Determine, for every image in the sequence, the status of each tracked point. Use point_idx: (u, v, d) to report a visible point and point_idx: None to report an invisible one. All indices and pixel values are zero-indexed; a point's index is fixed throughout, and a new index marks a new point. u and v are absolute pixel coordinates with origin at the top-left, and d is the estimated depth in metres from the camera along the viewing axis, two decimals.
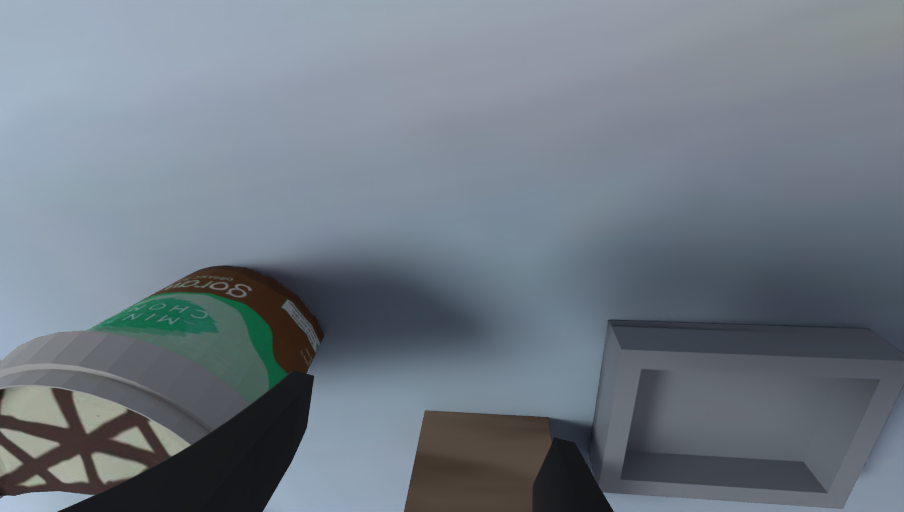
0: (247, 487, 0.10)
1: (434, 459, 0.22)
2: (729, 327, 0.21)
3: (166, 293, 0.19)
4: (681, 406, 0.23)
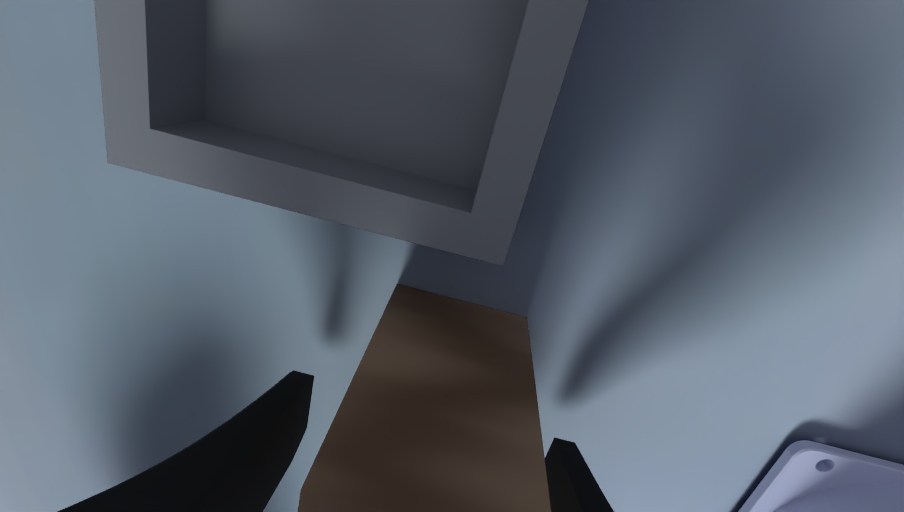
0: (247, 487, 0.10)
1: None
2: None
3: None
4: (366, 20, 0.10)
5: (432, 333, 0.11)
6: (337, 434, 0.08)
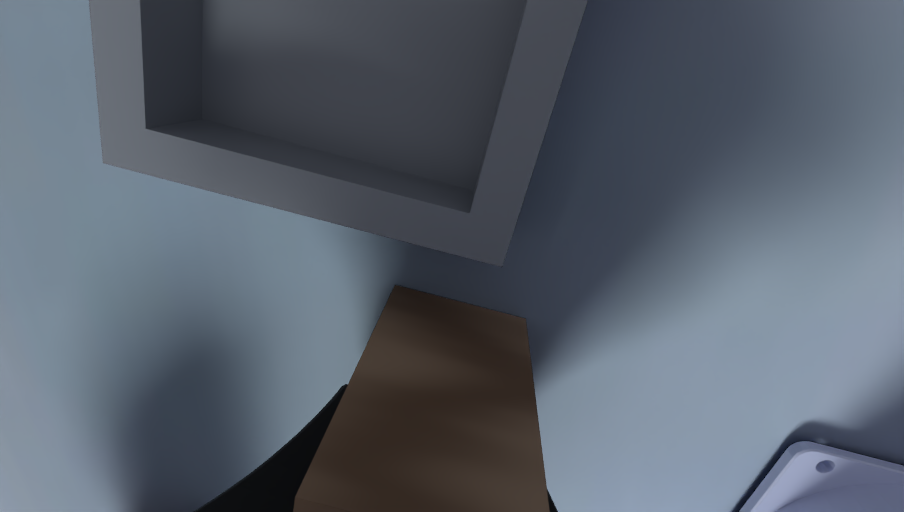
0: None
1: None
2: None
3: None
4: (364, 19, 0.10)
5: (430, 335, 0.11)
6: (332, 439, 0.07)
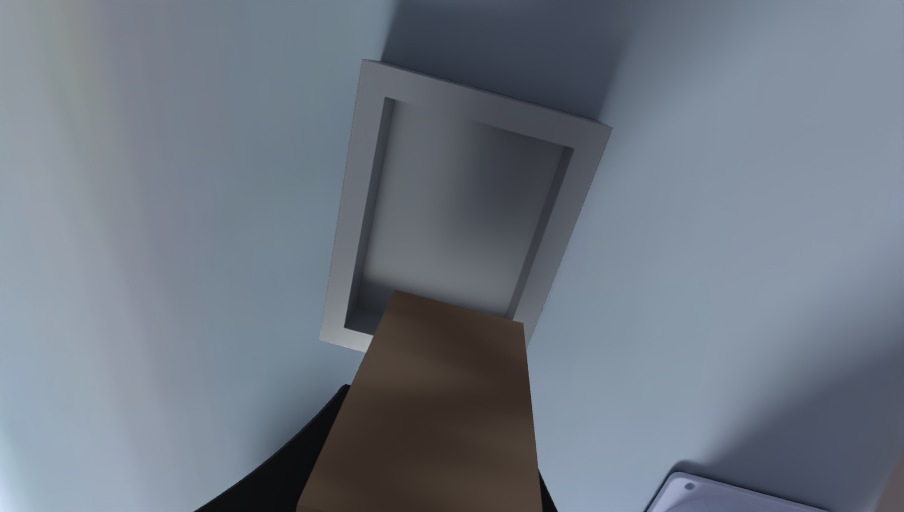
0: None
1: None
2: None
3: None
4: (444, 270, 0.20)
5: (429, 341, 0.11)
6: (333, 447, 0.08)
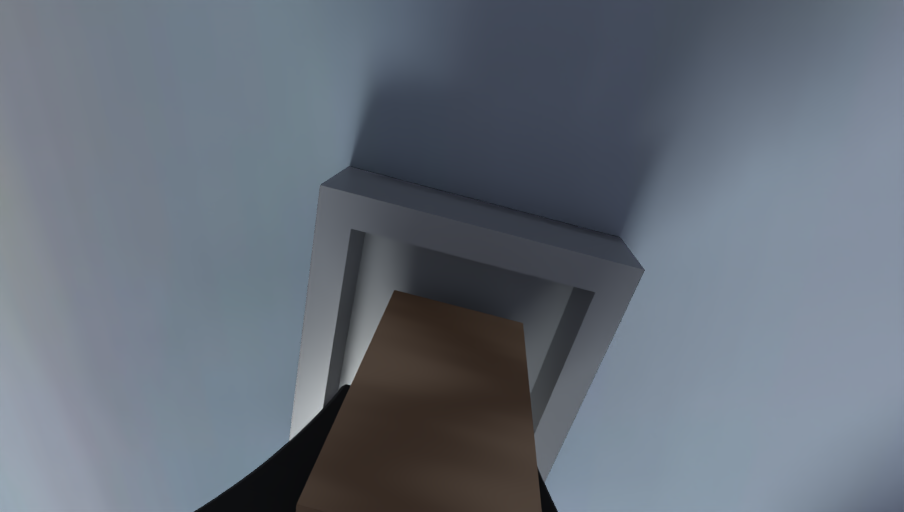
0: None
1: None
2: None
3: None
4: None
5: (428, 341, 0.11)
6: (332, 447, 0.08)
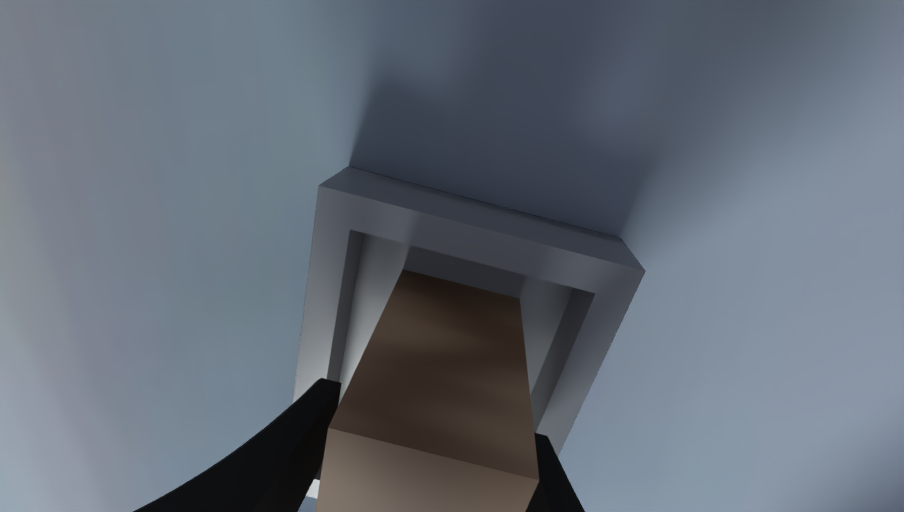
0: (283, 496, 0.10)
1: None
2: None
3: None
4: None
5: (434, 311, 0.13)
6: (355, 388, 0.09)
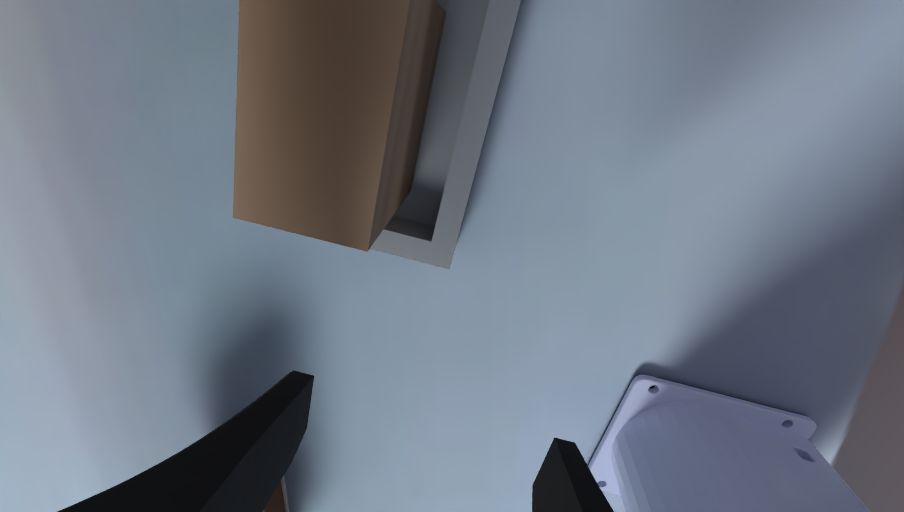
0: (247, 487, 0.10)
1: None
2: None
3: None
4: None
5: None
6: None
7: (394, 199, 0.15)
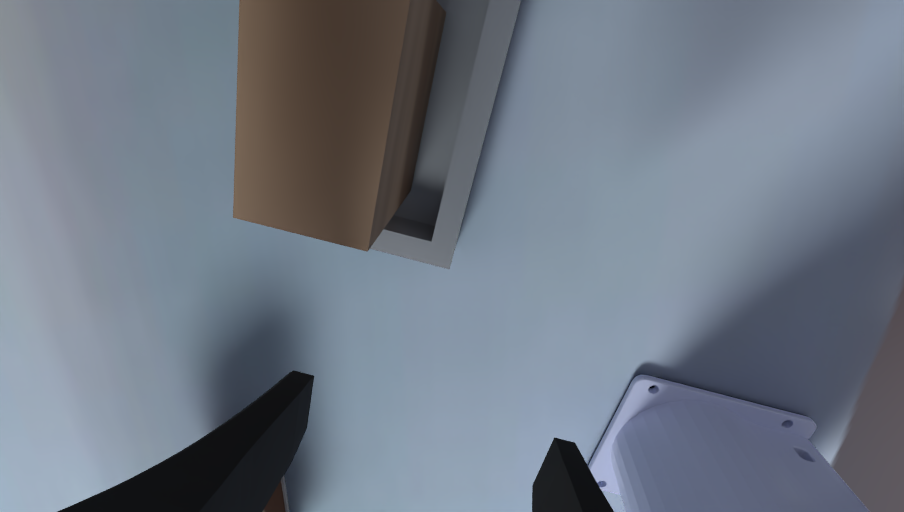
0: (247, 487, 0.10)
1: None
2: None
3: None
4: None
5: None
6: None
7: (394, 199, 0.15)
